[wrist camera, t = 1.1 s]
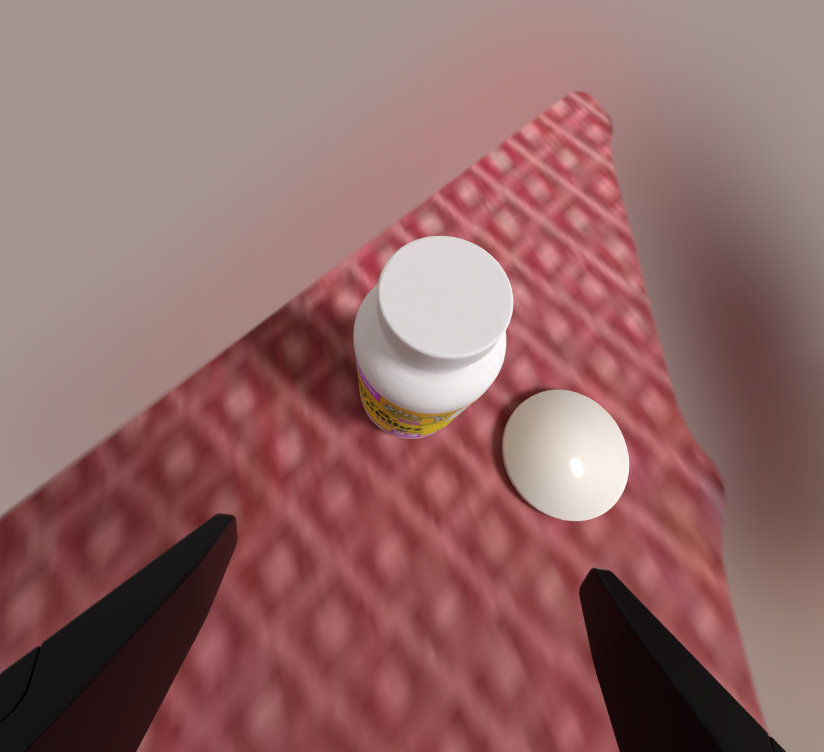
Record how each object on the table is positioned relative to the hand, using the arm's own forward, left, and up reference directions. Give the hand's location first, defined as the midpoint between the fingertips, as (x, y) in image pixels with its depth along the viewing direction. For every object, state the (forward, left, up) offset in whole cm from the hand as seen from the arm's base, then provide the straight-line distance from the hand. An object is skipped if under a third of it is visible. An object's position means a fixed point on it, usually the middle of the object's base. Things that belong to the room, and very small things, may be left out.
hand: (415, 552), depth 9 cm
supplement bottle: (+4, +7, -14) cm, 16 cm away
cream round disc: (+12, 0, -13) cm, 18 cm away
